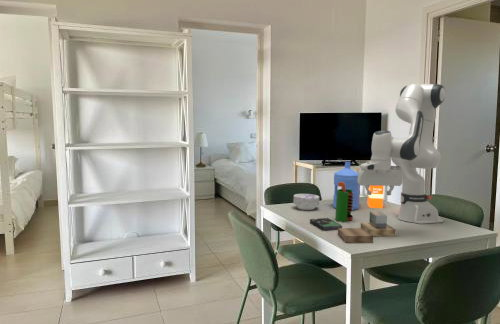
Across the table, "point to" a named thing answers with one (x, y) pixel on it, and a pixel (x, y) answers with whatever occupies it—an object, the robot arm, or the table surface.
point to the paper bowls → (306, 201)
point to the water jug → (348, 184)
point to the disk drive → (325, 224)
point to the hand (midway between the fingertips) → (378, 195)
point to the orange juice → (375, 197)
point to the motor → (344, 204)
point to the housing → (378, 220)
